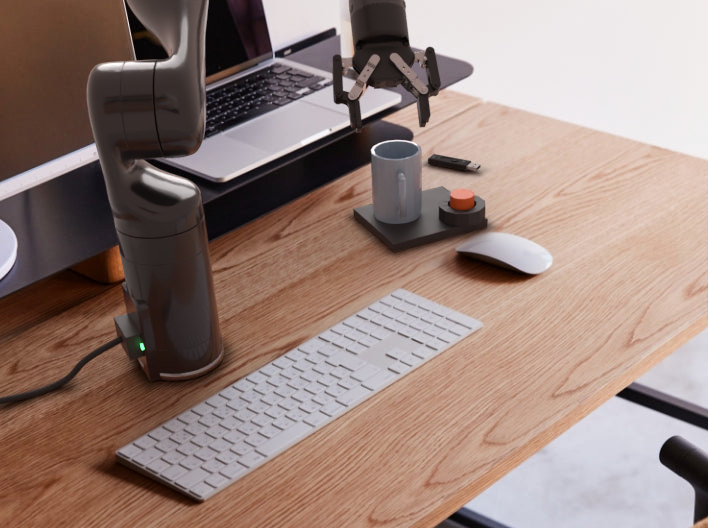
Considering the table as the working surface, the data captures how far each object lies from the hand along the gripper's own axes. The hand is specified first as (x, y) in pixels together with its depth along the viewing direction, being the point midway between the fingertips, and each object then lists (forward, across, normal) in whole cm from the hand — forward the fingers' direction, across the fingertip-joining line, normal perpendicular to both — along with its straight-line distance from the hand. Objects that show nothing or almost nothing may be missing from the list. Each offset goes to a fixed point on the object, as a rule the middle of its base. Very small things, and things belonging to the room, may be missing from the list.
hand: (391, 127), depth 142 cm
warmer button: (+11, -8, -1) cm, 14 cm away
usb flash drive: (0, -11, -16) cm, 19 cm away
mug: (+12, 0, -3) cm, 12 cm away
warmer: (+12, -3, -4) cm, 13 cm away
